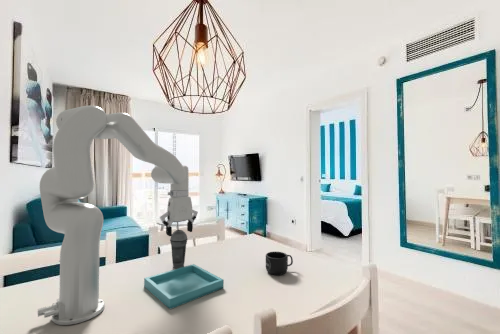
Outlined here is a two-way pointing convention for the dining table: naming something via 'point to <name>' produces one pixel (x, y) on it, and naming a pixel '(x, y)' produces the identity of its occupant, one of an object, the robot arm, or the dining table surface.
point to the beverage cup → (178, 247)
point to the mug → (277, 262)
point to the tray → (182, 285)
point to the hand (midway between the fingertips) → (179, 233)
